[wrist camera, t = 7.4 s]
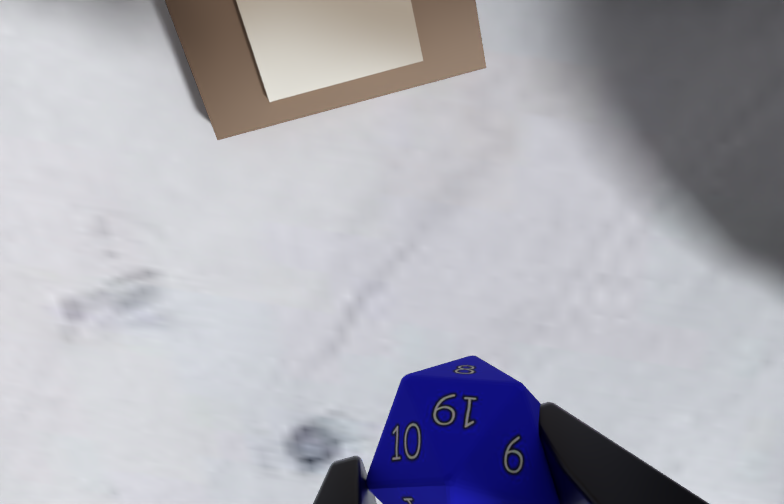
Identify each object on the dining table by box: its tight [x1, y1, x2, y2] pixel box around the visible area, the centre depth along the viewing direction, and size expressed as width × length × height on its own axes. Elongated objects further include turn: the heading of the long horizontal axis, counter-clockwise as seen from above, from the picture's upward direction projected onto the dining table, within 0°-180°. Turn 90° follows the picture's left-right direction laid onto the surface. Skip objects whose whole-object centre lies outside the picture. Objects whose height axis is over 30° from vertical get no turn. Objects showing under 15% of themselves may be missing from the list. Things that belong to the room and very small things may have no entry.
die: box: [366, 356, 560, 504], centre depth 8 cm, size 3×3×3 cm
